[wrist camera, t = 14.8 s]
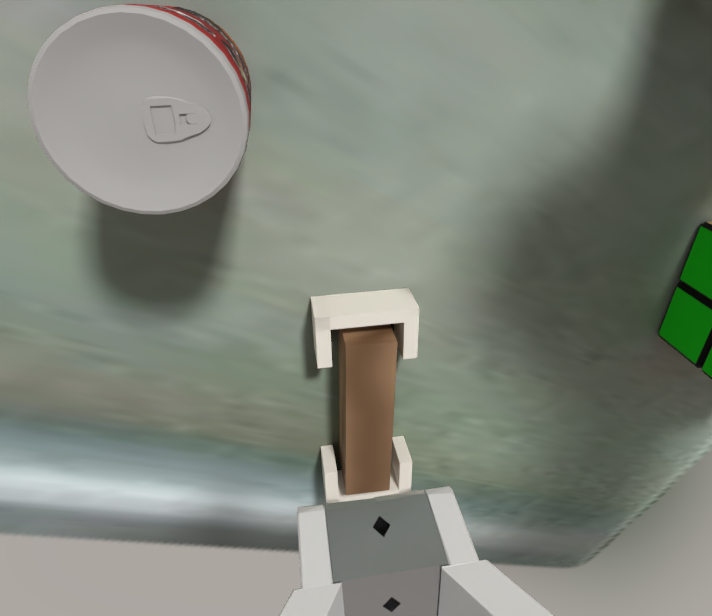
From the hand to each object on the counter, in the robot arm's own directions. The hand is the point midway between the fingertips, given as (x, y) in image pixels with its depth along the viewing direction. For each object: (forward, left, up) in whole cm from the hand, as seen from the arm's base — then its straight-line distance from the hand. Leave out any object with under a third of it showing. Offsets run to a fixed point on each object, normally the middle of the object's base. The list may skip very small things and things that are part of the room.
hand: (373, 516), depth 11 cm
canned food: (+6, -5, -26) cm, 27 cm away
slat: (-4, +18, -26) cm, 32 cm away
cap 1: (-4, +10, -26) cm, 28 cm away
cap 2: (-4, +25, -26) cm, 36 cm away
